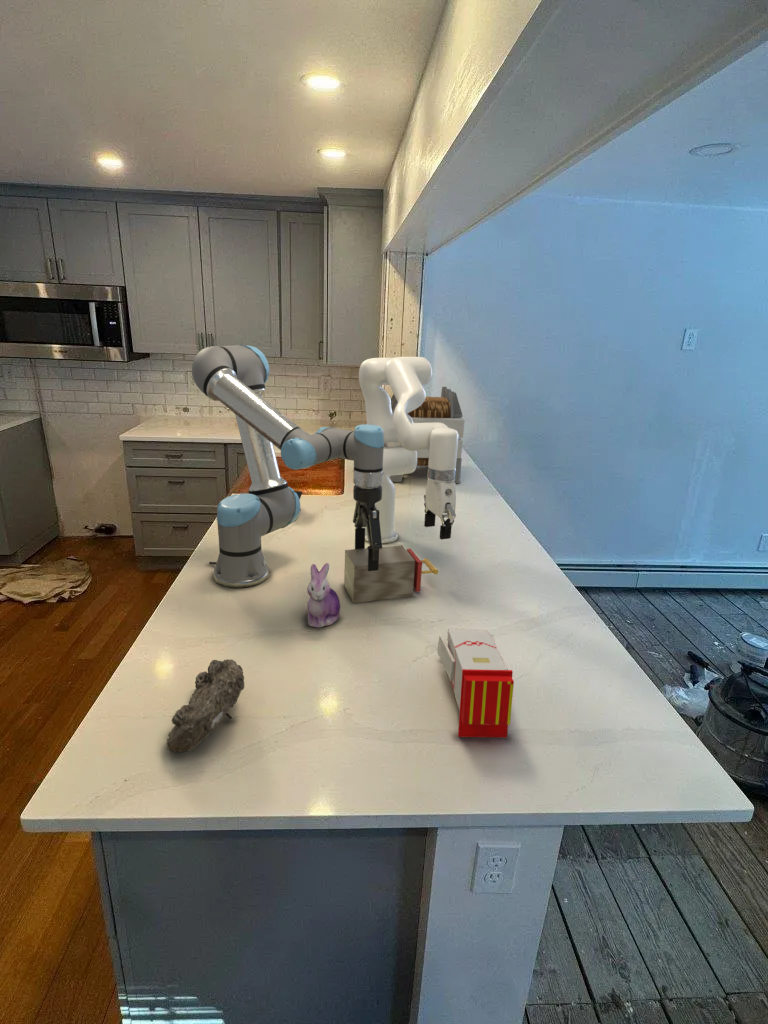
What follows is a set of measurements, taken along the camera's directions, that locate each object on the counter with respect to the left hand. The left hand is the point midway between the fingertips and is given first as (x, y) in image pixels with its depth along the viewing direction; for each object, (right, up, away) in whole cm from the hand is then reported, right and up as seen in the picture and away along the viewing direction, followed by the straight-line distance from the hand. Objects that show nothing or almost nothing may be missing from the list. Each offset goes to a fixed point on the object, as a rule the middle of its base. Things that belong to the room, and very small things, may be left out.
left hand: (366, 559), depth 155 cm
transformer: (+22, +32, +120) cm, 127 cm away
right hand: (+20, +7, +5) cm, 22 cm away
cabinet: (+3, -9, +5) cm, 11 cm away
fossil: (-28, -26, -46) cm, 60 cm away
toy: (+23, -25, -36) cm, 49 cm away
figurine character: (-30, +12, +59) cm, 67 cm away
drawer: (+9, -8, +6) cm, 13 cm away
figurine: (-10, -14, -11) cm, 21 cm away
